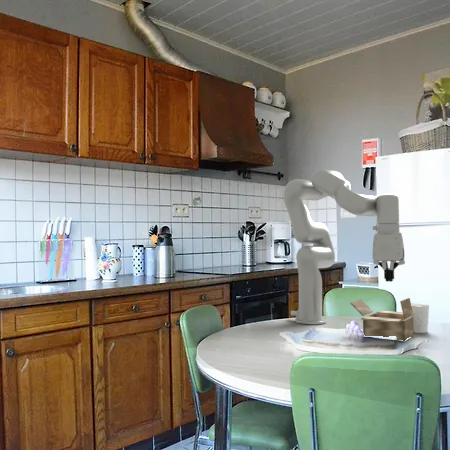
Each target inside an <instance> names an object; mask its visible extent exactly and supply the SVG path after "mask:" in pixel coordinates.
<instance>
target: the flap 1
mask: <svg viewBox="0 0 450 450" xmlns="http://www.w3.org/2000/svg"><path fill="white" fill-rule="evenodd" d="M350 305H351V306H352V307H353V308H354V309H355V310H356V311H357V312H358V313H359V314H360V315H361V316H362V317H365V316H367V315H370V314H372V313H374V311H373V310H372V308H370V307H369V306H368V304H366V303H365V302H364V300H362V299H358V300H357V299H356V300H355V301H351V302H350Z"/></svg>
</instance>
